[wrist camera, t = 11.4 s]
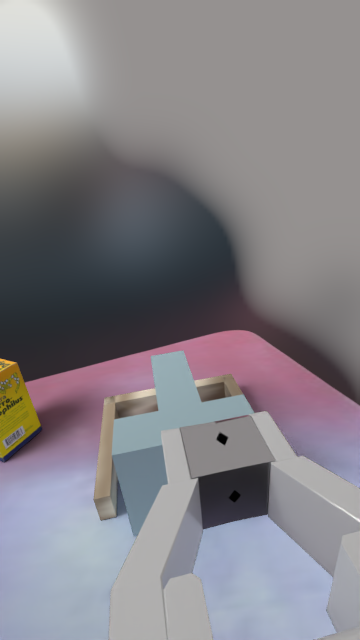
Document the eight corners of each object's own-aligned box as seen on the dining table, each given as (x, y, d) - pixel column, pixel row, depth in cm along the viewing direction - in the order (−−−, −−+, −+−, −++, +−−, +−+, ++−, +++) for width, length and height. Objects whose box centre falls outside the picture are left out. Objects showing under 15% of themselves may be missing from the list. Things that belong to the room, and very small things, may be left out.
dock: (100, 520, 29) (93, 499, 27) (109, 414, 42) (104, 397, 41) (279, 479, 30) (279, 457, 29) (231, 390, 44) (231, 373, 43)
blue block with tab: (133, 536, 27) (111, 455, 23) (131, 426, 40) (117, 361, 36) (260, 506, 28) (261, 424, 24) (219, 408, 41) (215, 344, 37)
